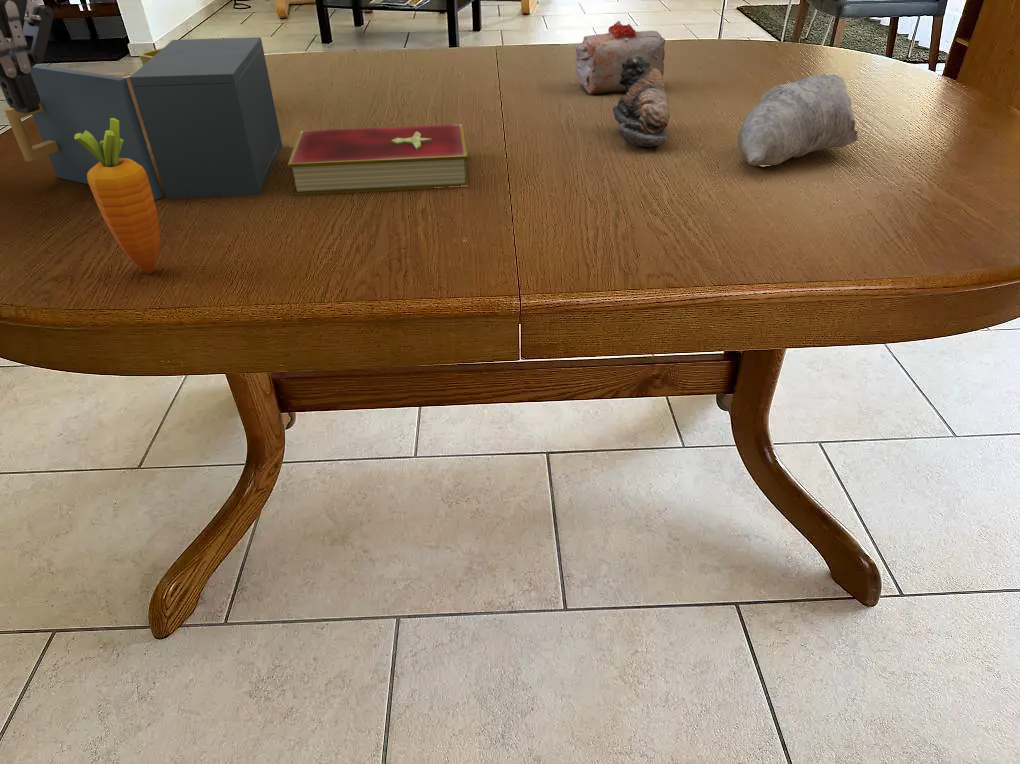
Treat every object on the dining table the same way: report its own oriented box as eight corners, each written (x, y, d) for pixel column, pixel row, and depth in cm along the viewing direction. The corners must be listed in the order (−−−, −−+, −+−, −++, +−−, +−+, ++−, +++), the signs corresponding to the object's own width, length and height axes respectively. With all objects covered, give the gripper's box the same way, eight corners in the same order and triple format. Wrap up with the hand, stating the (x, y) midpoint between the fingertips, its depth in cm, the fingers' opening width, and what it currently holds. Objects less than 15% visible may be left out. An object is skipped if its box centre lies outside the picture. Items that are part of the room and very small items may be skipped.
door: (129, 213, 85) (86, 90, 77) (28, 189, 91) (-22, 72, 82) (163, 197, 89) (126, 77, 80) (63, 175, 94) (19, 61, 86)
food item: (584, 98, 119) (587, 31, 113) (571, 84, 125) (574, 20, 119) (665, 92, 121) (672, 26, 115) (648, 78, 127) (655, 16, 121)
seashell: (742, 181, 91) (758, 98, 85) (717, 140, 103) (729, 64, 97) (873, 180, 91) (898, 97, 85) (833, 139, 103) (853, 63, 97)
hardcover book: (305, 159, 98) (300, 127, 96) (463, 152, 100) (462, 120, 97) (293, 196, 89) (287, 161, 86) (468, 187, 90) (467, 153, 88)
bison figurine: (676, 151, 99) (686, 73, 93) (625, 155, 99) (632, 76, 92) (649, 123, 109) (657, 50, 103) (602, 125, 108) (607, 52, 102)
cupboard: (166, 199, 88) (128, 77, 80) (201, 149, 102) (172, 39, 93) (260, 195, 89) (232, 73, 81) (282, 145, 103) (261, 37, 94)
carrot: (123, 290, 71) (65, 135, 62) (124, 267, 75) (69, 117, 66) (177, 280, 73) (128, 127, 64) (175, 258, 77) (129, 110, 67)
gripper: (-9, -85, 76) (56, 90, 86) (-146, -70, 66) (-54, 125, 77) (41, -83, 73) (102, 98, 84) (-94, -67, 64) (-6, 134, 74)
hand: (27, 110), depth 80 cm, fingers closed
